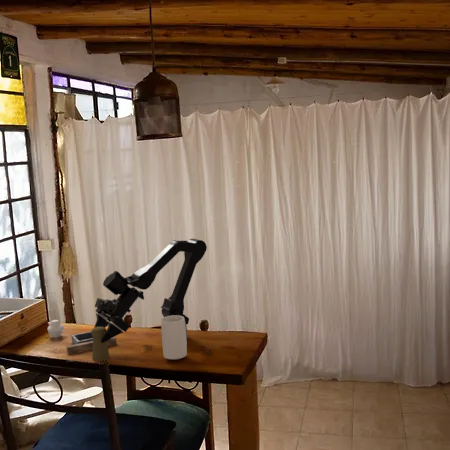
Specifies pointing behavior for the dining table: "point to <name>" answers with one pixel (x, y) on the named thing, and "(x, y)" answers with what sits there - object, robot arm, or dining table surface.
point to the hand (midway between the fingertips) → (96, 338)
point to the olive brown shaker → (99, 344)
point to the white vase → (55, 328)
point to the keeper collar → (82, 338)
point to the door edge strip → (87, 346)
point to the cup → (174, 337)
